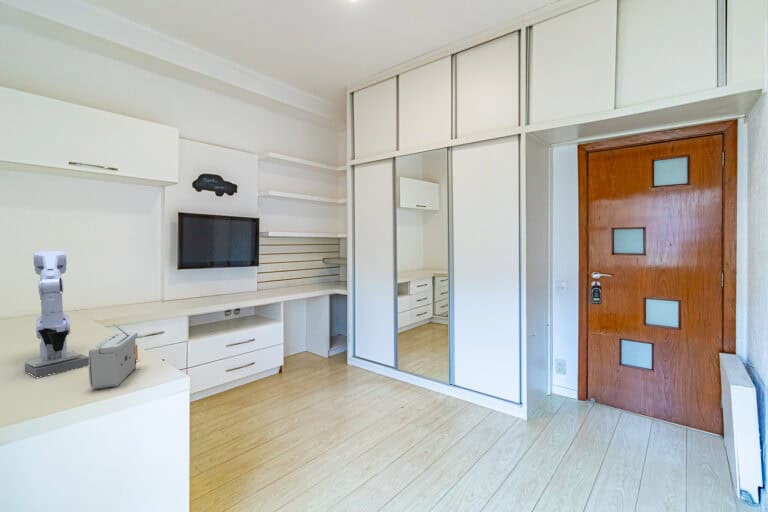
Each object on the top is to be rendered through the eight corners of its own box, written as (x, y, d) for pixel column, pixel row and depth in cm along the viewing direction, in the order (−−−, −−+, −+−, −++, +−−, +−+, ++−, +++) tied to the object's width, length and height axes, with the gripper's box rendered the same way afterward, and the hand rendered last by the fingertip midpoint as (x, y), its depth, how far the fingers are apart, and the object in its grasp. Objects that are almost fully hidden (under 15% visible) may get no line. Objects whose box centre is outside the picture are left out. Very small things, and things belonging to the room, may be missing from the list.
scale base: (24, 372, 132) (24, 362, 132) (76, 360, 145) (76, 351, 144) (36, 378, 126) (36, 368, 125) (90, 365, 138) (89, 356, 138)
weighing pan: (26, 363, 130) (26, 360, 130) (72, 353, 141) (72, 351, 141) (34, 367, 126) (34, 364, 126) (81, 356, 137) (81, 354, 137)
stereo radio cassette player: (113, 369, 133) (110, 314, 132) (140, 367, 136) (137, 312, 135) (88, 391, 113) (85, 326, 113) (119, 388, 116) (117, 324, 115)
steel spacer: (45, 358, 133) (44, 344, 133) (59, 355, 137) (58, 341, 136) (49, 359, 131) (48, 345, 131) (63, 356, 134) (63, 343, 134)
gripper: (30, 311, 134) (32, 349, 134) (45, 315, 126) (47, 355, 126) (55, 308, 140) (57, 344, 140) (71, 312, 132) (72, 350, 132)
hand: (54, 349), depth 134 cm, fingers open, 7 cm apart
